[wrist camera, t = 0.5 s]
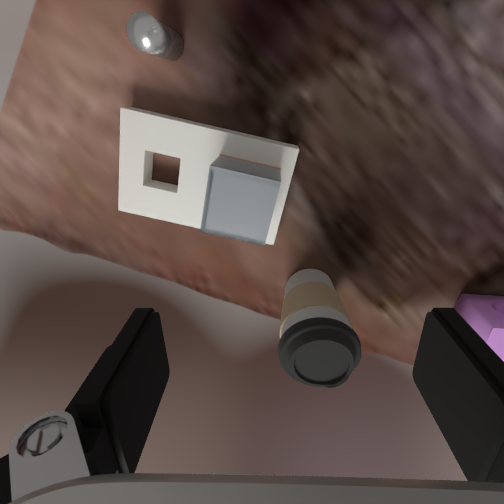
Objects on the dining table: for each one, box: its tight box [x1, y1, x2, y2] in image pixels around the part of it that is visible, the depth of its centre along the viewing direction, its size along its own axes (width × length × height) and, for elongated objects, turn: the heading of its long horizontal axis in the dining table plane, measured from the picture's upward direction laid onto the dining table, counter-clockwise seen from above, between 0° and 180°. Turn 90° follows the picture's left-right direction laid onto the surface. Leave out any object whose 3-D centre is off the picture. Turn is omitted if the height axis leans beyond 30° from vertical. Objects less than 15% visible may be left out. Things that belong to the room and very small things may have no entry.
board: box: [118, 107, 299, 245], centre depth 38 cm, size 12×20×3 cm, turn 78°
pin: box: [126, 11, 184, 61], centre depth 30 cm, size 3×3×8 cm
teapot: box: [455, 293, 504, 361], centre depth 42 cm, size 18×13×10 cm
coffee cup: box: [278, 269, 361, 388], centre depth 39 cm, size 9×9×15 cm
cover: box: [200, 155, 281, 246], centre depth 34 cm, size 7×7×6 cm
